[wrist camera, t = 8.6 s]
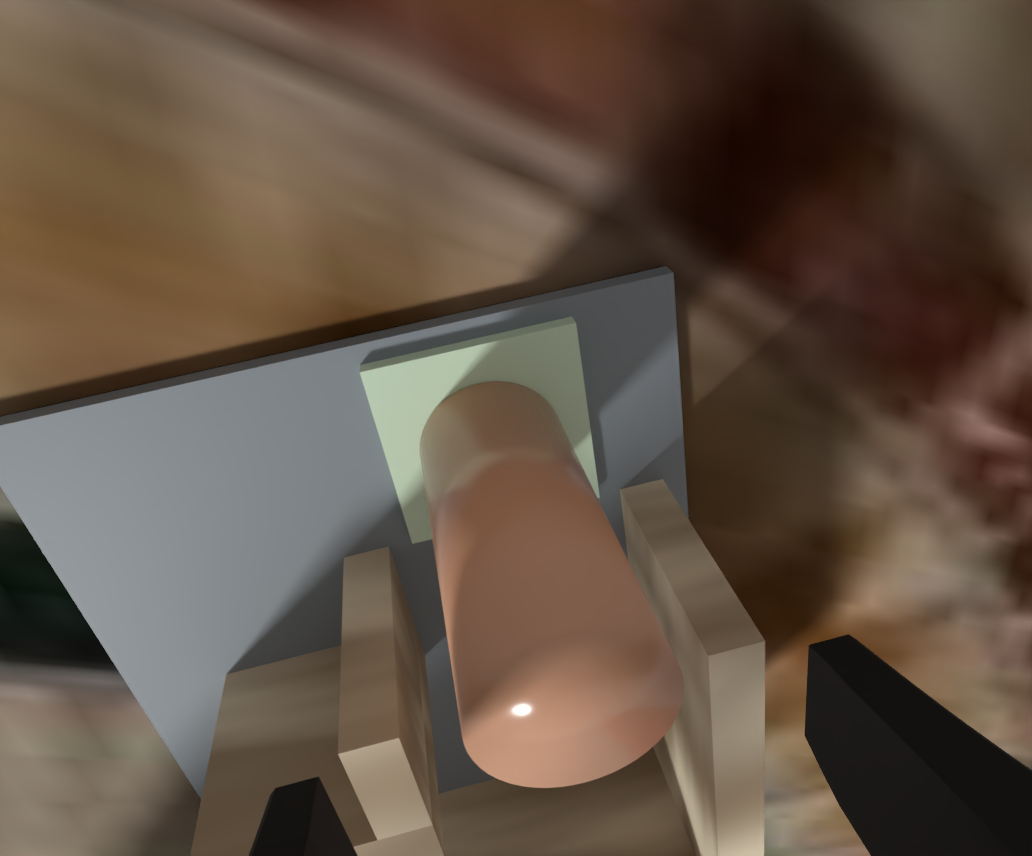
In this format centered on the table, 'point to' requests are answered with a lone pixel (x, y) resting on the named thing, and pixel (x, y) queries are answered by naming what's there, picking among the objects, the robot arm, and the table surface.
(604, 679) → the peg
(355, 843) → the tan piece
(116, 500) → the board
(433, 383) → the pad
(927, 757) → the robot arm
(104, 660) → the table surface
